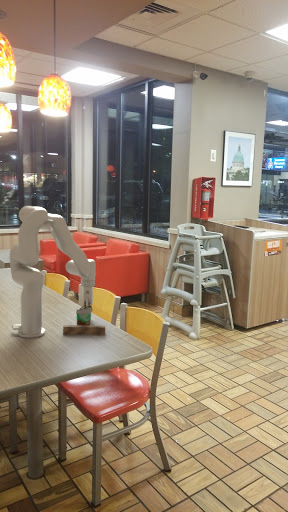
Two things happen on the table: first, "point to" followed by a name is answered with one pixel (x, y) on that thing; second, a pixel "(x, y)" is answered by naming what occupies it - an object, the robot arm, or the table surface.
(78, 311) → the food container
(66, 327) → the walnut board
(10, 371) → the table surface
